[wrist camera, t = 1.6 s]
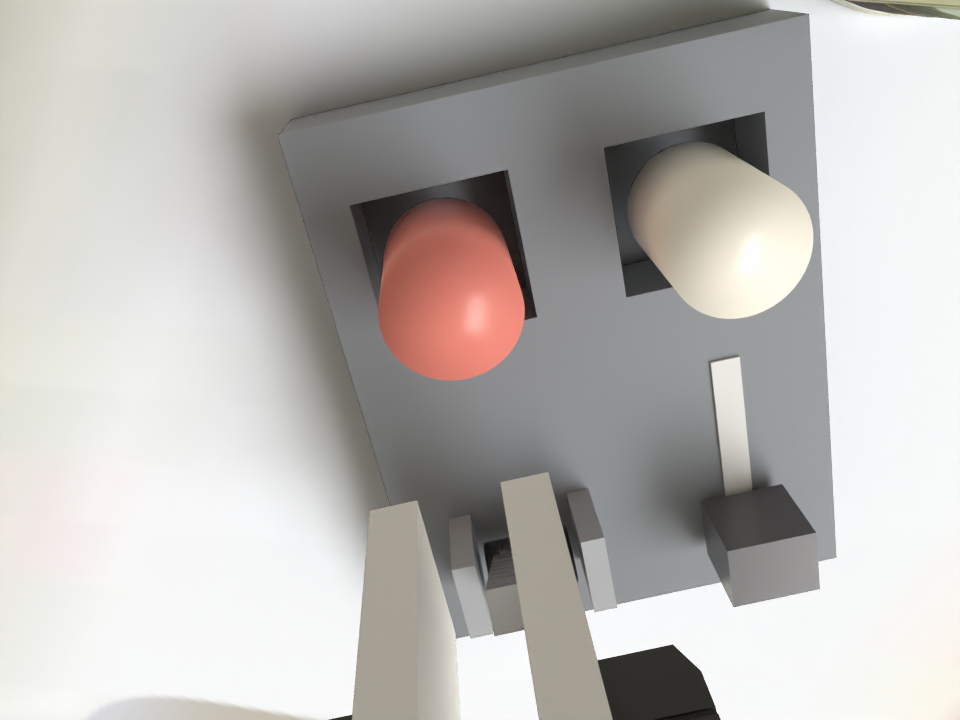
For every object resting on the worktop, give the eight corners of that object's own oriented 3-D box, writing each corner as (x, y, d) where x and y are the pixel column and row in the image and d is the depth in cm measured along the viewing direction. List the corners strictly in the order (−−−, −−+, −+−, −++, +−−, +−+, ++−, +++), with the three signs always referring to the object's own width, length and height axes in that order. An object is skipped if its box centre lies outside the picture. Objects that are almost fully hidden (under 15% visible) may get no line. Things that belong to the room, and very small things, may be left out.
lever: (484, 539, 32) (470, 578, 23) (564, 522, 32) (580, 554, 23) (496, 594, 32) (486, 653, 23) (576, 576, 32) (598, 630, 23)
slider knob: (700, 501, 32) (727, 551, 29) (782, 483, 32) (816, 532, 29) (707, 553, 33) (733, 607, 30) (786, 537, 33) (819, 588, 30)
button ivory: (618, 156, 28) (658, 195, 23) (744, 128, 27) (809, 161, 23) (636, 275, 29) (676, 332, 25) (754, 249, 29) (816, 301, 25)
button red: (370, 213, 28) (361, 261, 23) (493, 185, 28) (509, 228, 23) (401, 327, 29) (398, 393, 25) (518, 301, 29) (536, 363, 25)
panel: (290, 119, 29) (261, 155, 23) (771, 9, 28) (855, 19, 23) (431, 593, 37) (433, 701, 32) (805, 513, 37) (872, 609, 31)
